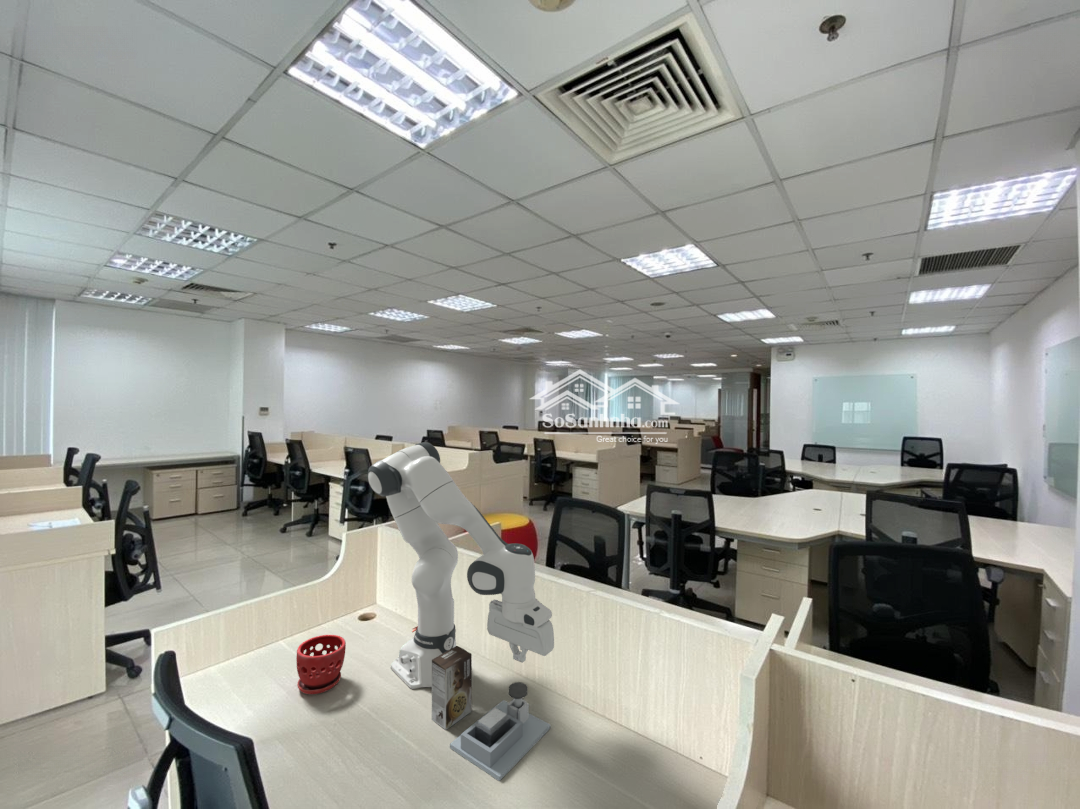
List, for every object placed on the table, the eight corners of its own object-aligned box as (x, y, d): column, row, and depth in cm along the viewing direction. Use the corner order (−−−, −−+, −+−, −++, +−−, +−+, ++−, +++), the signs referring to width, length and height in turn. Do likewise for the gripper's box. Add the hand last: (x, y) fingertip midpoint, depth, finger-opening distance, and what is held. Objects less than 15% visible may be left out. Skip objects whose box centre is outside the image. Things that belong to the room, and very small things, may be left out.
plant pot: (309, 705, 122) (309, 662, 122) (288, 687, 130) (288, 646, 130) (353, 682, 133) (354, 642, 133) (331, 666, 141) (331, 628, 141)
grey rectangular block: (475, 746, 107) (475, 721, 107) (494, 729, 113) (494, 705, 113) (490, 756, 104) (490, 730, 104) (509, 738, 110) (509, 713, 110)
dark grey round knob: (504, 707, 116) (504, 689, 116) (516, 697, 120) (516, 679, 120) (519, 715, 113) (519, 696, 113) (531, 704, 117) (531, 686, 117)
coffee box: (457, 701, 124) (457, 644, 124) (472, 712, 120) (473, 652, 120) (430, 719, 117) (430, 658, 117) (445, 731, 113) (446, 668, 113)
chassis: (449, 747, 108) (450, 727, 108) (503, 703, 124) (503, 685, 124) (499, 781, 98) (499, 758, 98) (550, 728, 114) (550, 709, 114)
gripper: (481, 601, 120) (482, 652, 120) (542, 623, 108) (543, 679, 108) (497, 593, 125) (497, 642, 125) (557, 613, 113) (557, 667, 113)
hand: (519, 660), depth 116 cm, fingers closed
